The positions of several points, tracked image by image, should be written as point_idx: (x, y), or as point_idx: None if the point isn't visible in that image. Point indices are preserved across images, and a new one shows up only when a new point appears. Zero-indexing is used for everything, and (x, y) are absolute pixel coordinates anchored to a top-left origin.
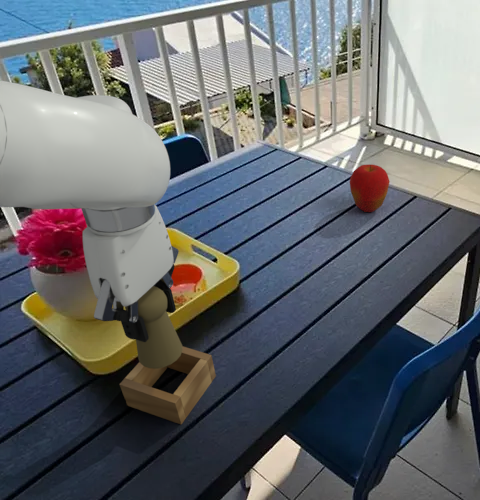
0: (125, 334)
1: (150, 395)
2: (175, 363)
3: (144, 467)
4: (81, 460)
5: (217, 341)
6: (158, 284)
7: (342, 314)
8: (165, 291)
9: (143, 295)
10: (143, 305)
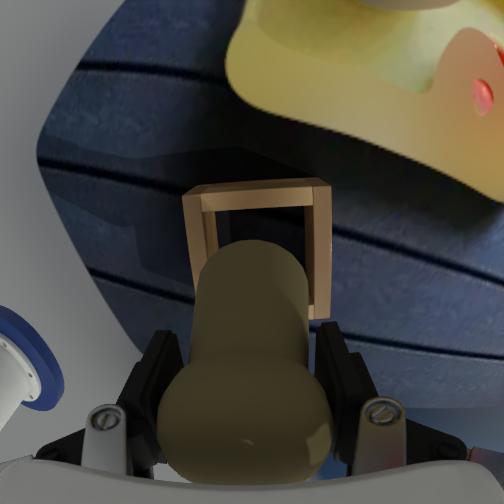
0: (136, 363)
1: (192, 272)
2: (307, 222)
3: (132, 287)
4: (95, 197)
5: (393, 241)
6: (347, 449)
7: (469, 373)
8: (334, 448)
9: (231, 480)
10: (193, 482)
